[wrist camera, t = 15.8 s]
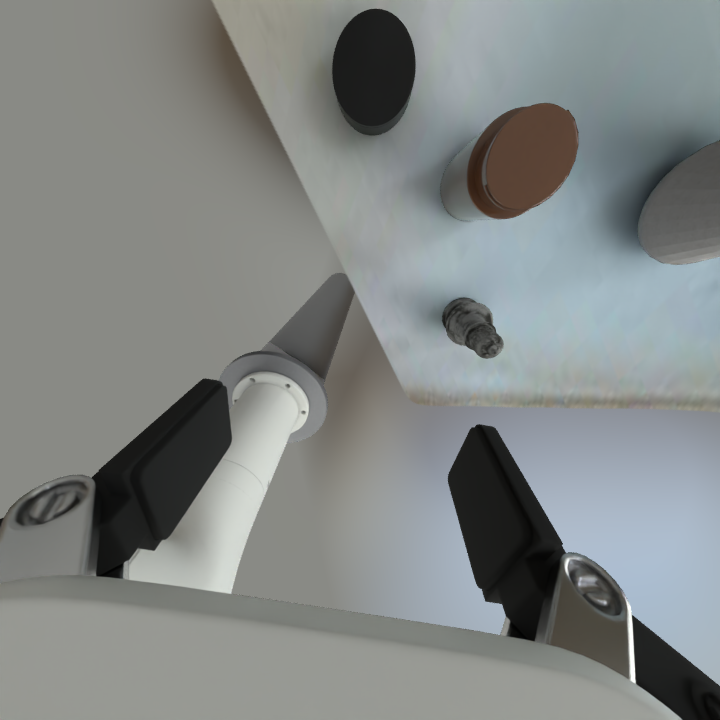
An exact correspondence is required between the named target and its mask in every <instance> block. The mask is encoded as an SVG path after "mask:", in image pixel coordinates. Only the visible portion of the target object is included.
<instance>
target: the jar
mask: <svg viewBox="0 0 720 720" xmlns="http://www.w3.org/2000/svg"><path fill="white" fill-rule="evenodd" d="M578 133H579V132H578V129H577V126H576V122H575V119H574V117H573V116H572V114H571V113H570V112H569V110H565V109H563V108H562V107H560V106H558V105H555V104H551V103H539V104H535V105H532V106H528V107H520V108H515V109H513V110H510V111H508V112H506V113H504V114H502V115H501V116H499V117H498V118H497V119H495V120H494V121H493V122H492V123H491V124H490V125H489V126H488V127H486V128H485V129H484V130H483V131H482V132H481V133H480V134H479V135H478V136H476V137H475V138H474V139H473V140H472V141H471V142H470V143H469V144H468V145H466V146H465V147H464V148H463V149H462V150H461V151H460V152H459V153H458V154H456V155H455V156H454V157H453V159H452V160H451V161H450V162H449V164H448V165H447V167H446V169H445V171H444V174H443V177H442V180H441V186H440V195H441V200H442V204H443V206H444V208H445V210H446V211H447V212H448V213H449V214H450V215H451V216H452V217H454V218H456V219H458V220H461V221H476V220H495V219H509V218H513V217H516V216H519V215H521V214H523V213H525V212H527V211H529V210H530V209H531V208H533V207H536V206H538V205H540V204H541V203H543V202H544V201H546V200H547V199H549V198H550V197H551V196H552V195H553V194H554V193H555V192H556V191H557V190H558V189H559V188H560V187H561V185H562V184H563V182H564V181H565V179H566V178H567V177H568V175H569V173H570V171H571V169H572V166H573V164H574V162H575V159H576V154H577V149H578Z"/></svg>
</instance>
